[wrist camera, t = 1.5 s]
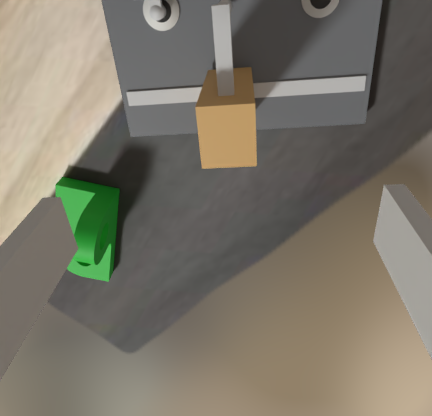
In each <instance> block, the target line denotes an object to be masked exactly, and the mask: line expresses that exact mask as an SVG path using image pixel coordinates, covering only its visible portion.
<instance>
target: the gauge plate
mask: <svg viewBox="0 0 432 416" xmlns="http://www.w3.org/2000/svg"><path fill="white" fill-rule="evenodd" d="M220 1H221V0H102V5H103V9H104V14H105V19H106V23H107V28H108V33H109V37H110V42H111V47H112V51H113V56H114V61H115V65H116V70H117V75H118V79H119V84H120V89H121V93H122V98H123V103H124V107H125V112H126V117H127V121H128V126H129V131H130V135H131V137H137V136H155V135H173V134H190V133H198V128H197V119H196V110H195V106H196V104H197V101H198V98H199V95H200V92H201V89H202V86H203V83H204V81H205V78H206V75H207V72H208V70H215V69H216V60H215V47H214V34H213V21H212V8H211V6H212V5H215V4H218V3H219V2H220ZM231 1H232V5H233V7H232V11H231V14H230V17H231V36H232V55H233V68H243V67H251V69H252V78H253V87H254V96H255V113H256V130H261V129H279V128H296V127H314V126H332V125H350V124H365V121H366V114H367V107H368V100H369V93H370V85H371V78H372V71H373V64H374V57H375V49H376V42H377V35H378V28H379V21H380V13H381V6H382V0H231Z"/></svg>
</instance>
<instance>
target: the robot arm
mask: <svg viewBox="0 0 432 416" xmlns="http://www.w3.org/2000/svg"><path fill="white" fill-rule="evenodd" d="M373 242H374V244H375V246H376V248H377V250H378V252H379V254H380V256H381V258H382V260H383V262H384V264H385V266H386V268H387V270H388V272H389V274H390V276H391V278H392V280H393V282H394V284H395V286H396V288H397V290H398V292H399V294H400V296H401V298H402V300H403V302H404V304H405V307H406V309H407V311H408V313H409V315H410V317H411V319H412V321H413V323H414V325H415V327H416V329H417V331H418V333H419V335H420V337H421V339H422V341H423V343H424V345H425V347H426V349H427V351H428V353H429V355H430V357H431V359H432V219H431V218H430V216H429V215H428V214H427V212H426V211H425V210H424V209H423V207H422V206H421V205H420V203H419V202H418V201H417V200H416V198H415V197H414V196H413V195H412V193H411V192H410V191H409V189H408V188H407V187H406V185H405V184H396V185H384V189H383V194H382V198H381V204H380V209H379V215H378V219H377V224H376V230H375V235H374V241H373ZM77 250H78V246H77V243H76V240H75V237H74V234H73V232H72V229H71V226H70V223H69V220H68V217H67V214H66V212H65V209H64V206H63V203H62V200H61V197H48V198H42V199H41V201H40V202H39V203H38V204H37V205H36V206H35V207H34V208H33V210H32V211H31V212H30V213H29V214H28V215H27V216H26V218H25V219H24V220H23V221H22V222H21V223H20V224H19V225H18V227H17V228H16V229H15V230H14V231H13V232H12V233H11V235H10V236H9V237H8V238H7V239H6V240H5V241H4V242H3V244H2V245H1V246H0V380H1V379H2V377H3V375H4V374H5V372H6V370H7V369H8V367H9V365H10V363H11V362H12V360H13V358H14V357H15V355H16V353H17V352H18V350H19V348H20V347H21V345H22V343H23V341H24V340H25V338H26V336H27V335H28V333H29V331H30V330H31V328H32V326H33V324H34V323H35V321H36V319H37V318H38V316H39V314H40V313H41V311H42V309H43V308H44V306H45V304H46V303H47V301H48V299H49V297H50V296H51V294H52V292H53V291H54V289H55V287H56V286H57V284H58V282H59V281H60V279H61V277H62V275H63V274H64V272H65V270H66V269H67V267H68V265H69V264H70V262H71V260H72V259H73V257H74V255H75V253H76V252H77Z"/></svg>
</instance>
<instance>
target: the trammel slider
mask: <svg viewBox="0 0 432 416" xmlns="http://www.w3.org/2000/svg"><path fill="white" fill-rule="evenodd" d="M232 7H233V5H232V1H231V0H221V1H220V2H219V3H218V4H215V5H212V6H211V8H212V21H213V34H214V47H215V60H216V69H215V70H208V72H207V75H206V78H205V81H204V83H203V86H202V89H201V92H200V95H199V98H198V101H197V104H196V106H195V110H196V119H197V128H198V136H199V145H200V154H201V163H202V169H207V168H228V167H249V166H257V154H256V113H255V96H254V87H253V78H252V69H251V67H243V68H233V55H232V36H231V17H230V14H231V11H232Z"/></svg>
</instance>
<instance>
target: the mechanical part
mask: <svg viewBox="0 0 432 416" xmlns="http://www.w3.org/2000/svg"><path fill="white" fill-rule="evenodd" d="M119 191H120V189H118V188H114V187H109V186H104V185H99V184H95V183H90V182H85V181H80V180H75V179H71V178H66V177H62V178H61V179H60V180H59V182H58V183H57V184H56V197H61V200H62V203H63V206H64V209H65V212H66V214H67V217H68V220H69V223H70V226H71V229H72V232H73V234H74V237H75V240H76V243H77V246H78V250H77V252H76V253H75V255H74V257H73V259H72V260H71V262H70V264H69V265H68V267H67V269H68V270H69V271H70V272H72V273H74V274H76V275H79V276H83V277H88V278H93V279H98V280H103V281H108V282H109V280H110V278H111V275H112V273H113V267H114V255H115V242H116V229H117V216H118V203H119Z"/></svg>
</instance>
